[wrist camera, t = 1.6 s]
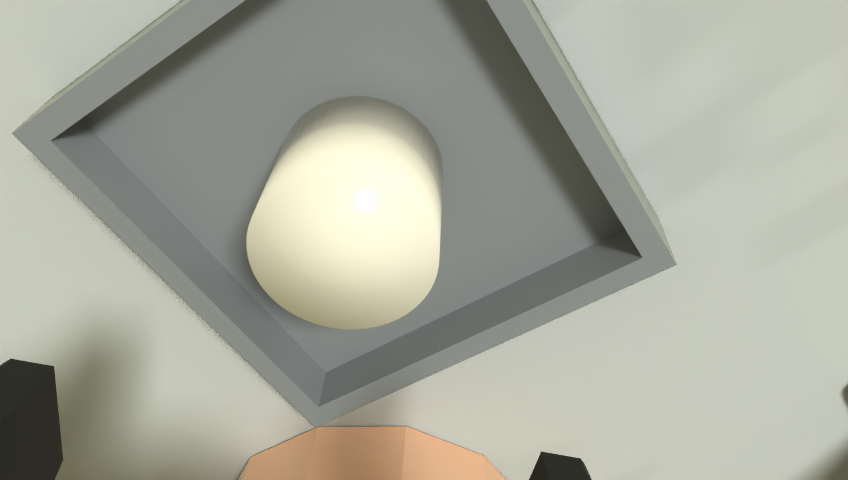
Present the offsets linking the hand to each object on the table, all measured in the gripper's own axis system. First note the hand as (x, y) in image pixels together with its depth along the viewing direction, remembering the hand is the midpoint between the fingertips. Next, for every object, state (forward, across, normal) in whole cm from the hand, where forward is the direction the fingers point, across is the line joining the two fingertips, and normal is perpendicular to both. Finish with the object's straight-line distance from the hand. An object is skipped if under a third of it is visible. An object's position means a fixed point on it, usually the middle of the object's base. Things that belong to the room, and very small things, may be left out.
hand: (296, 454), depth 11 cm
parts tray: (+9, 0, 0) cm, 9 cm away
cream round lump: (+9, 0, 0) cm, 9 cm away
